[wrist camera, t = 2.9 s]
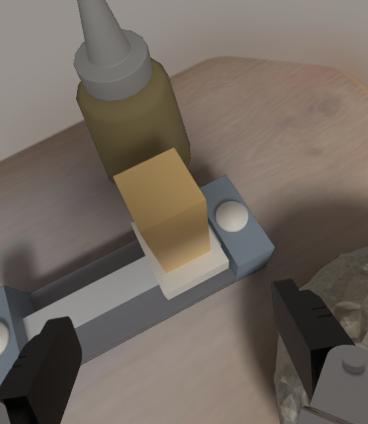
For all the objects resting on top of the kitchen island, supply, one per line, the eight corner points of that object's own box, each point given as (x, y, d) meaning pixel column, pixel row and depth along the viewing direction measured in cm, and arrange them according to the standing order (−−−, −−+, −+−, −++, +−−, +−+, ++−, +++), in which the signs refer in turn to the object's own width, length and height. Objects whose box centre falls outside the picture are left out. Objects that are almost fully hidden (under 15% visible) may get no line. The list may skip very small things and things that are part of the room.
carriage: (171, 303, 25) (135, 263, 14) (141, 240, 27) (91, 165, 17) (227, 274, 25) (233, 213, 15) (193, 214, 28) (176, 125, 17)
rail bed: (25, 395, 25) (-23, 404, 20) (6, 313, 28) (-40, 303, 23) (265, 265, 27) (275, 245, 22) (225, 202, 30) (226, 172, 25)
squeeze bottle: (187, 216, 30) (148, 48, 14) (106, 207, 31) (-17, 45, 15) (199, 145, 33) (179, -58, 17) (125, 140, 34) (41, -53, 18)
